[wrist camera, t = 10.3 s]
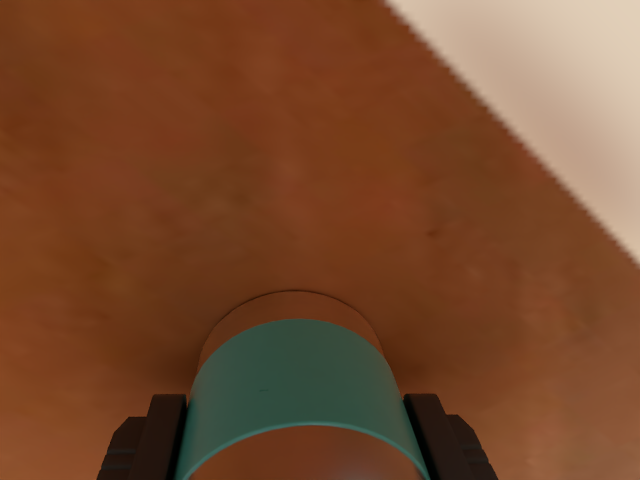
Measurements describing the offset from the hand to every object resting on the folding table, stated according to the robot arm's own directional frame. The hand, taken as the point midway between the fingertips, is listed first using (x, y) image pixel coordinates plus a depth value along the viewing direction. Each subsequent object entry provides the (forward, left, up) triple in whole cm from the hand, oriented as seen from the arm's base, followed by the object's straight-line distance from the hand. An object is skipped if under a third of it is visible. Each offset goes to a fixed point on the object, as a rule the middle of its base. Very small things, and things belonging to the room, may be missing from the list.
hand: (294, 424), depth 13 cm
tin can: (0, 0, -2) cm, 2 cm away
